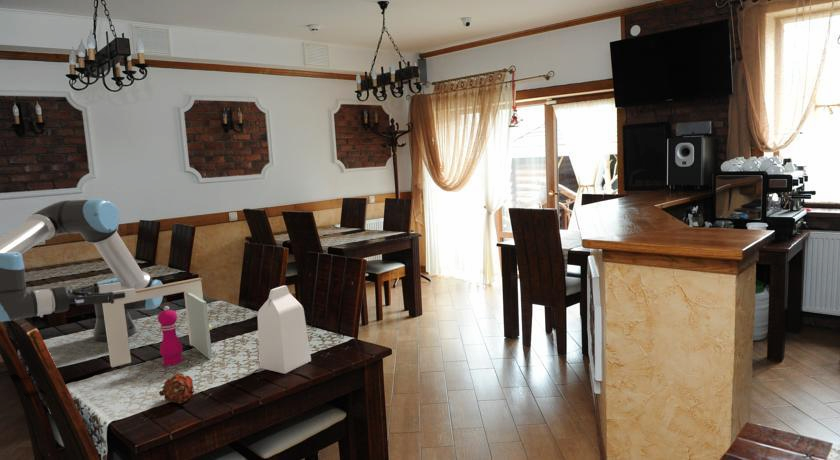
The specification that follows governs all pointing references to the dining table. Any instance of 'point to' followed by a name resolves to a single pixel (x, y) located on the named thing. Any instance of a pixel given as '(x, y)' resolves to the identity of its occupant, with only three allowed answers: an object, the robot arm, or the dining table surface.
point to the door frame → (117, 319)
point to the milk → (282, 332)
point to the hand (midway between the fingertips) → (127, 289)
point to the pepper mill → (169, 338)
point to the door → (199, 324)
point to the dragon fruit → (177, 389)
